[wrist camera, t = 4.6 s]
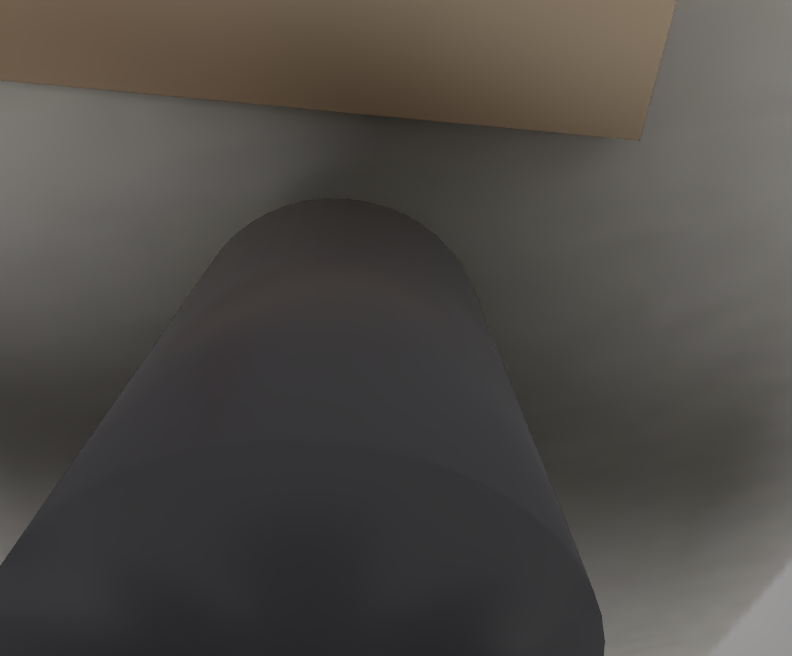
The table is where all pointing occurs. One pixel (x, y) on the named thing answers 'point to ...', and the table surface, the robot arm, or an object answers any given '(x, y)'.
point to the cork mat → (360, 56)
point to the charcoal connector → (309, 472)
